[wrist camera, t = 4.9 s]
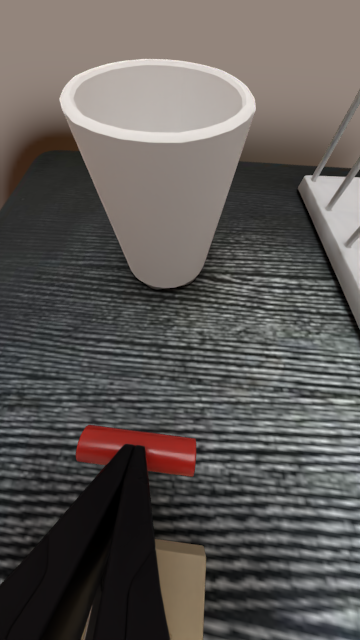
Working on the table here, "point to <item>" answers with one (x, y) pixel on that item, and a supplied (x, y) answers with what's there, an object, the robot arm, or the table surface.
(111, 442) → the power lever
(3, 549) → the table surface
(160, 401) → the table surface
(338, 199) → the file sorter
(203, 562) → the switch box
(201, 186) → the cup
